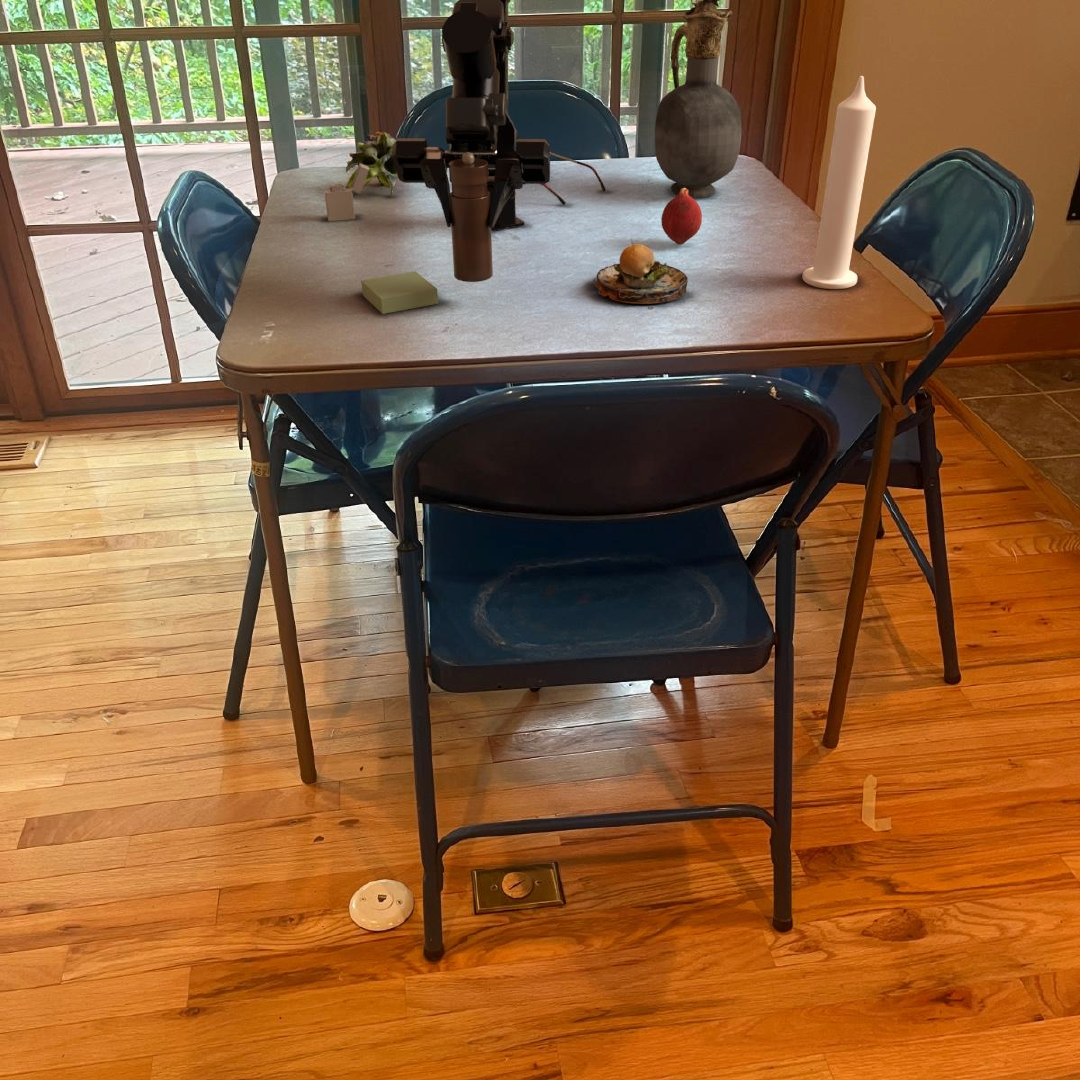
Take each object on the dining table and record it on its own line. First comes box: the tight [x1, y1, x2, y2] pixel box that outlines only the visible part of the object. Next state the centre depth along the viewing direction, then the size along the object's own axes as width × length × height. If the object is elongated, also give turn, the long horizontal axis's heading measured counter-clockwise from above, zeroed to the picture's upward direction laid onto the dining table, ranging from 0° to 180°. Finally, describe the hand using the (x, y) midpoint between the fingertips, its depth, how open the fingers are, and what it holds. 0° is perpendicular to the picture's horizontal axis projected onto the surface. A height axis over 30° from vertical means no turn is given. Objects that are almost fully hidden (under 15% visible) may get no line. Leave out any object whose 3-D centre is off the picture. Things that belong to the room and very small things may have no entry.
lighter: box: [324, 163, 369, 222], centre depth 156 cm, size 7×2×8 cm, turn 106°
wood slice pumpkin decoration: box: [594, 238, 689, 305], centre depth 129 cm, size 12×12×8 cm
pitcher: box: [654, 0, 742, 199], centre depth 162 cm, size 11×19×30 cm, turn 17°
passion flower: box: [345, 131, 399, 198], centre depth 169 cm, size 11×11×12 cm
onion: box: [660, 188, 703, 246], centre depth 144 cm, size 6×6×8 cm
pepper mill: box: [448, 152, 494, 283], centre depth 120 cm, size 5×5×15 cm
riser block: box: [360, 270, 439, 315], centre depth 128 cm, size 8×8×2 cm
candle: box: [801, 75, 877, 290], centre depth 126 cm, size 7×7×25 cm
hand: (469, 225), depth 120 cm, fingers closed on pepper mill, 5 cm apart
